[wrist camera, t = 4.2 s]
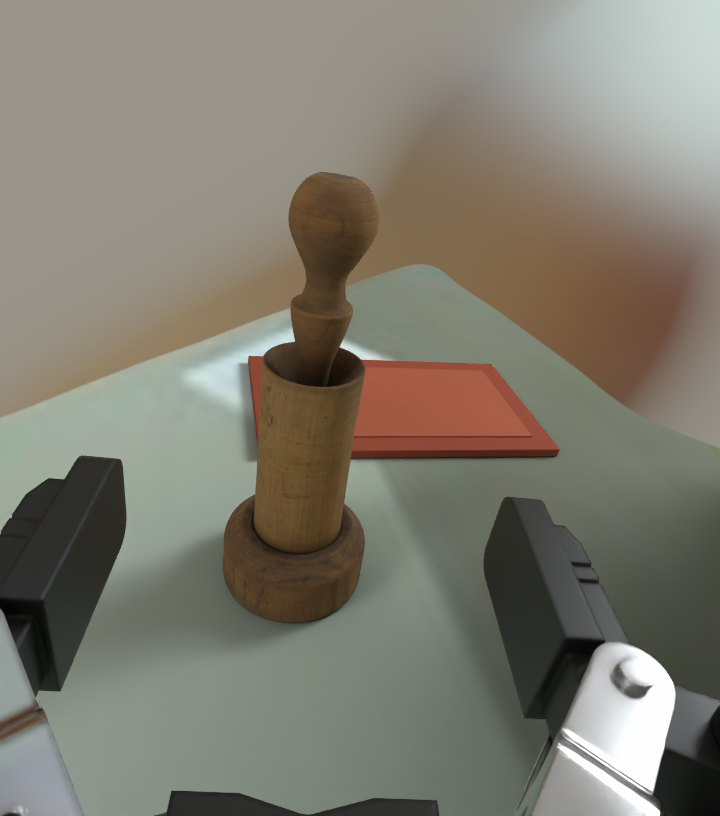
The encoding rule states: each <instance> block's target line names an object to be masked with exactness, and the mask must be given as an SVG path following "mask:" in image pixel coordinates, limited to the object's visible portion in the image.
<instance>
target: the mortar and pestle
mask: <svg viewBox="0 0 720 816" xmlns="http://www.w3.org/2000/svg"><path fill="white" fill-rule="evenodd" d="M378 224H379V212H378V207H377V203H376V200H375V197H374V195H373V193H372V191H371V190H370V189H369V187H368V186H367V185H366V184H365V183H363V182H362V181H361V180H359V179H357V178H354V177H350V176H345V175H341V174H335V173H326V172H319V173H316V174H313V175H311V176H310V177H308V178H307V179H305V180H304V181H303V182H302V184H301V185H300V186H299V187H298V189H297V190H296V192H295V194H294V196H293V199H292V201H291V205H290V209H289V227H290V231H291V234H292V237H293V240H294V242H295V245H296V247H297V250H298V252H299V255H300V257H301V259H302V262H303V264H304V267H305V271H306V280H307V281H306V285H305V288H304V290H303V292H302V294H300V295H298V296H296V297H294V298H293V299H292V301H291V320H292V326H293V332H294V338H295V342H291V343H285V344H281V345H277V346H275V347H273V348H271V349H270V350H268V351H267V352H266V353H265V355H264V356H263V360H262V377H261V400H260V421H259V442H258V461H257V478H256V494H255V495H253V496H251V497H249V498H248V499H246V500H245V501H244V502H242V503H241V504H240V505H239V506H238V507H237V508H236V509H235V510H234V512H233V513H232V515H231V516H230V518H229V520H228V522H227V525H226V529H225V534H224V558H223V571H224V577H225V581H226V584H227V587H228V589H229V590H230V592H231V594H232V595H233V597H234V598H235V599H236V600H237V601H238V602H239V603H240V604H241V605H242V606H244V607H245V608H246V609H248V610H249V611H251V612H253V613H254V614H257V615H259V616H261V617H264V618H267V619H270V620H274V621H279V622H286V623H300V622H308V621H313V620H316V619H319V618H322V617H324V616H327V615H329V614H331V613H332V612H334V611H336V610H337V609H338V608H340V607H341V606H342V605H343V604H344V603H345V602H346V601H347V600H348V599H349V598H350V596H351V595H352V594H353V592H354V590H355V588H356V586H357V583H358V580H359V575H360V570H361V564H362V558H363V553H364V544H365V539H364V532H363V528H362V526H361V524H360V522H359V520H358V518H357V517H356V515H355V514H354V513H353V512H352V511H351V510H350V509H349V508H348V507H347V506H346V505H345V504H344V499H345V492H346V485H347V478H348V472H349V465H350V459H351V453H352V447H353V441H354V435H355V428H356V422H357V417H358V411H359V405H360V400H361V395H362V389H363V384H364V378H365V365H364V363H363V362H362V360H361V359H360V358H358V357H357V356H356V355H354V354H353V353H351V352H349V351H347V350H345V349H342V348H340V345H341V343H342V340H343V338H344V336H345V334H346V331H347V329H348V326H349V323H350V320H351V317H352V314H353V308H352V306H351V304H350V303H349V302H348V301H347V300H346V294H345V284H346V280H347V277H348V275H349V273H350V272H351V271H352V270H353V268H354V267H355V266H356V265H357V263H358V262H359V261H360V259H361V258H362V257H363V255H364V254H365V253H366V251H367V250H368V249H369V247H370V246H371V244H372V242H373V241H374V239H375V236H376V234H377V230H378Z"/></svg>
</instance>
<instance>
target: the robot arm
mask: <svg viewBox="0 0 720 816" xmlns="http://www.w3.org/2000/svg"><path fill="white" fill-rule="evenodd" d="M125 529H126V504H125V490H124V476H123V465H122V462H121V460H120V459H114V458H104V457H93V456H80V457H79V458H78V459H77V460H76V462H75V463H74V465H73V466H72V468H71V470H70V471H69V473H68V475H67V476H66V478H65V479H64V480H63V479H52V478H48V479H47V480H45V481H44V482H43V483H41V484H40V485H38V486H37V487H36V488H34V489H33V490H31V491H30V492H29V493H27V494H26V495H25V496H24V498H23V499H22V501H21V502H20V504H19V505H18V507H17V508H16V510H15V511H14V513H13V514H12V518H9V520H8V521H7V523H6V524H5V526H4V527H3V529H2V530H1V535H0V816H84V813H83V811H82V808H81V805H80V803H79V800H78V797H77V795H76V792H75V790H74V787H73V784H72V782H71V779H70V777H69V774H68V771H67V769H66V766H65V763H64V761H63V758H62V756H61V753H60V750H59V748H58V745H57V743H56V740H55V737H54V735H53V732H52V730H51V727H50V724H49V722H48V719H47V717H46V715H45V712H44V711H43V709H42V708H39V706H38V703H37V701H36V696H37V693H38V691H39V690H42V691H61V688H62V686H63V684H64V681H65V679H66V676H67V674H68V672H69V669H70V667H71V665H72V662H73V660H74V657H75V655H76V653H77V650H78V648H79V646H80V643H81V641H82V638H83V636H84V634H85V631H86V629H87V627H88V624H89V622H90V619H91V617H92V615H93V612H94V610H95V608H96V605H97V603H98V600H99V598H100V596H101V593H102V591H103V589H104V586H105V584H106V581H107V579H108V577H109V574H110V572H111V570H112V567H113V565H114V562H115V560H116V558H117V555H118V553H119V551H120V548H121V545H122V542H123V539H124V534H125ZM484 574H485V579H486V582H487V586H488V589H489V593H490V597H491V600H492V604H493V607H494V611H495V614H496V618H497V622H498V625H499V629H500V632H501V636H502V639H503V643H504V647H505V650H506V654H507V657H508V661H509V665H510V668H511V672H512V675H513V679H514V682H515V686H516V690H517V693H518V697H519V700H520V704H521V707H522V711H523V715H524V718H531V719H546V722H547V726H548V729H549V732H550V733H549V735H548V737H547V738H546V740H545V742H544V744H543V747H542V749H541V751H540V753H539V756H538V758H537V760H536V763H535V765H534V767H533V769H532V772H531V774H530V776H529V778H528V781H527V783H526V785H525V787H524V790H523V792H522V794H521V797H520V799H519V801H518V803H517V806H516V808H515V810H514V812H513V815H512V816H659V815H660V812H662V813H664V814H665V816H720V701H719V700H717V699H714V698H711V697H708V696H705V695H702V694H700V693H697V692H694V691H691V690H688V689H685V688H683V687H680V686H678V685H675V684H673V682H672V680H671V678H670V677H669V675H668V673H667V672H666V671H665V669H664V668H663V667H662V666H661V665H660V664H659V663H658V662H657V661H656V660H655V659H654V658H653V657H651V656H650V655H649V654H647V653H646V652H644V651H642V650H641V649H639V648H637V647H634V646H632V645H631V644H630V642H629V640H628V638H627V636H626V634H625V632H624V630H623V628H622V626H621V624H620V622H619V619H618V617H617V615H616V613H615V611H614V609H613V607H612V605H611V603H610V601H609V599H608V597H607V595H606V593H605V591H604V589H603V587H602V585H601V584H599V579H598V577H597V575H596V572H595V570H594V568H591V562H590V560H589V558H588V556H587V554H586V552H585V550H584V548H583V546H582V544H581V543H580V542H579V541H578V540H577V539H576V538H575V537H574V536H573V535H572V534H571V533H570V532H569V531H568V530H567V528H566V527H565V526H561V525H554V524H553V522H552V519H551V517H550V515H549V513H548V511H547V508H546V506H545V504H544V503H543V502H542V501H541V500H536V499H526V498H515V497H506V498H504V500H503V501H502V503H501V506H500V509H499V511H498V514H497V517H496V520H495V523H494V526H493V528H492V531H491V534H490V537H489V540H488V542H487V545H486V549H485V553H484ZM155 816H439V811H438V803H437V800H411V799H384V798H373V799H369V800H365V801H361V802H358V803H354V804H350V805H346V806H342V807H338V808H335V809H331V810H327V811H323V812H319V813H315V814H310V815H306V814H300V813H297V812H294V811H291V810H288V809H285V808H282V807H279V806H276V805H273V804H270V803H267V802H264V801H261V800H258V799H255V798H252V797H249V796H246V795H243V794H240V793H221V792H193V791H171V796H170V800H169V805H168V809H167V812H166V813H162V814H158V815H155Z"/></svg>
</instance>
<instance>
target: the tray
mask: <svg viewBox="0 0 720 816" xmlns="http://www.w3.org/2000/svg"><path fill="white" fill-rule="evenodd" d="M262 360H263V357H262V356H249V358H248V365H249V374H250V383H251V392H252V401H253V410H254V419H255V428H256V437H257V446H258V442H259V421H260V400H261V377H262ZM362 362H363V363H364V365H365V378H364V384H363V389H362V395H361V400H360V405H359V411H358V417H357V422H356V428H355V435H354V441H353V447H352V453H351V458H408V457H517V456H557V455H558V452H559V448H558V447H557V445H556V444H555V443H554V442H553V441H552V439H551V438H550V437H549V436H548V434H547V433H546V432H545V431H544V429H543V428H542V427H541V426H540V424H539V423H538V422H537V421H536V419H535V418H534V417H533V416H532V414H531V413H530V412H529V411H528V409H527V408H526V407H525V406H524V404H523V403H522V402H521V401H520V400H519V398H518V397H517V396H516V395H515V393H514V392H513V391H512V390H511V388H510V387H509V386H508V385H507V383H506V382H505V381H504V380H503V378H502V377H501V376H500V375H499V373H498V372H497V371H496V370H495V368H494V367H493V366H492V365H491V364H470V363H440V362H411V361H381V360H362Z"/></svg>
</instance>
